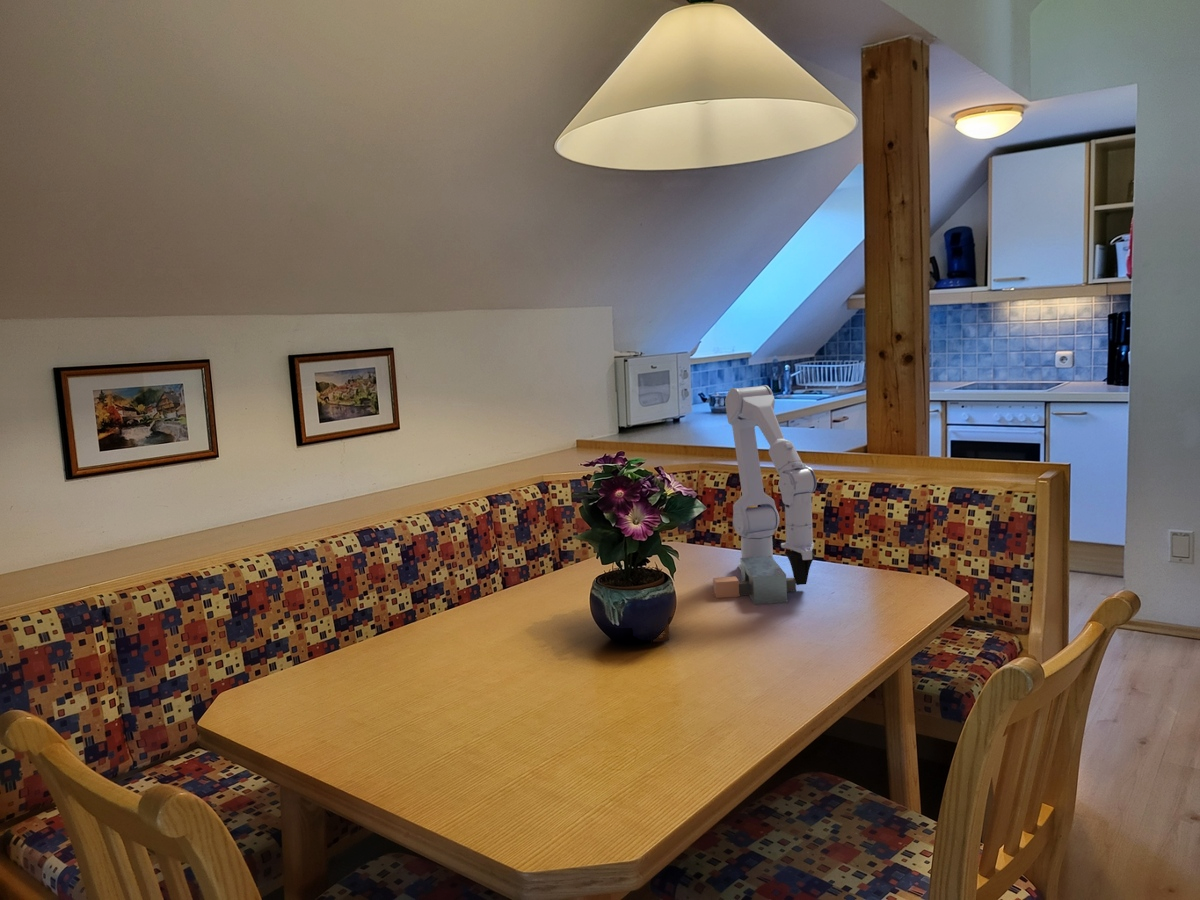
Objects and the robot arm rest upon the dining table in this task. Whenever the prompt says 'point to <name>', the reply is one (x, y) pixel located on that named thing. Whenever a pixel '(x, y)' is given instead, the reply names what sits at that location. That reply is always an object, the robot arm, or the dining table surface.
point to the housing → (764, 580)
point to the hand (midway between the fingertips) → (800, 583)
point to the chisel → (740, 586)
